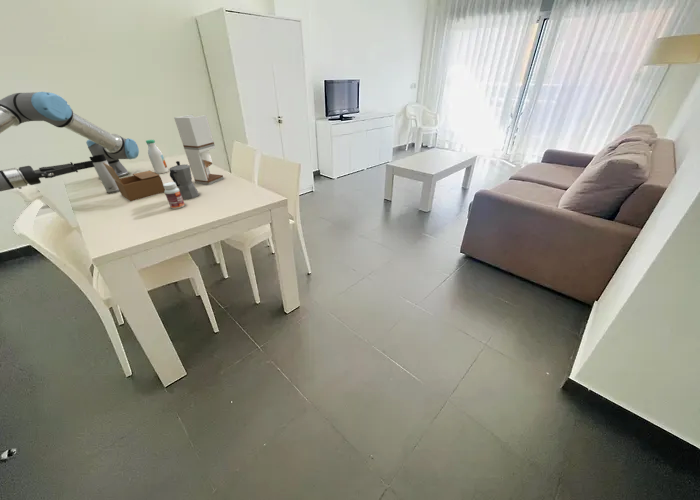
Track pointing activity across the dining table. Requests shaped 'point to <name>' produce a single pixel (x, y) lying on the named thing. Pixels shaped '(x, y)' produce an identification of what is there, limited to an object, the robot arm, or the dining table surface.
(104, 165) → the flap
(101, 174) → the travel mug
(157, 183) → the carton
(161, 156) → the milk bottle
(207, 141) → the drip coffee maker
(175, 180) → the coffeepot
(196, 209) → the dining table surface
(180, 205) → the pill bottle
